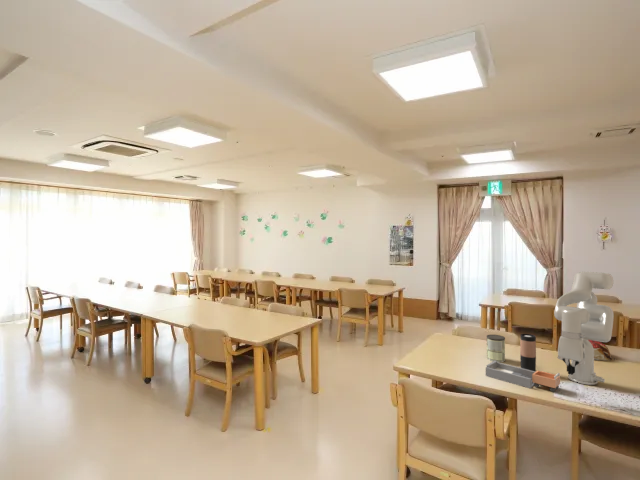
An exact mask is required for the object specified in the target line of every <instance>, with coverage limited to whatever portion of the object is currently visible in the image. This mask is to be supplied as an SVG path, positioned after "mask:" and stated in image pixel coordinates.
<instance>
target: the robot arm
mask: <svg viewBox="0 0 640 480" xmlns="http://www.w3.org/2000/svg"><path fill="white" fill-rule="evenodd" d="M613 286H614V277H613V276H612V275H611V274H610V273H605V272H594V271H582V272H581V271H580V272H577V273H575V274H574V275H573V282H572V285H571V289H570V290H569V291H567V292H566V293H564V294H563V295H561V296H560V297H559V298H558V299H557V301H556V303H555V307H554V310H553V311H554V312H553V313H554V314H553V315H554V318H555V319H556V320H558V321H561V335H560V336H559V339H558V346H557V359H558V360H561V361H563V363H565V365H566V372H567V378H568V379H569V380H570V381H572V382H575V383H577V382H578V383H577V384H581V385H589V386H594V385H598V382H600V383H605V378H603V377H602V376H597V375H596V372H595V360H594V348H593V346H592V344H591V343H590V342H589V341H588V340H594V341H598V342H601V343H608V342H610V341H611V339H612V335H613V326H614V315H615V314H614V310H613V309H612V307H610V306H609V305H607V304H606V305H604V304H598V297H597V294H595V293H594V292H593V289H595V290H596V289H597V290H611V289H612V287H613ZM574 304H576V307H575V306H569V305H574Z"/></svg>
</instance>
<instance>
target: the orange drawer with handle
mask: <svg viewBox="0 0 640 480" xmlns="http://www.w3.org/2000/svg"><path fill="white" fill-rule="evenodd" d="M532 382H534V386H533V387H535V388H539V387H540V385H541V386H545V387H549V391H550V392H552V393H554V392H556V389H559V385H560V384H561V376H560V372H557V373H556V374H554V373H550V372H546V371H542V370H537V369H536V371H535V373H533V374H532Z"/></svg>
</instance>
